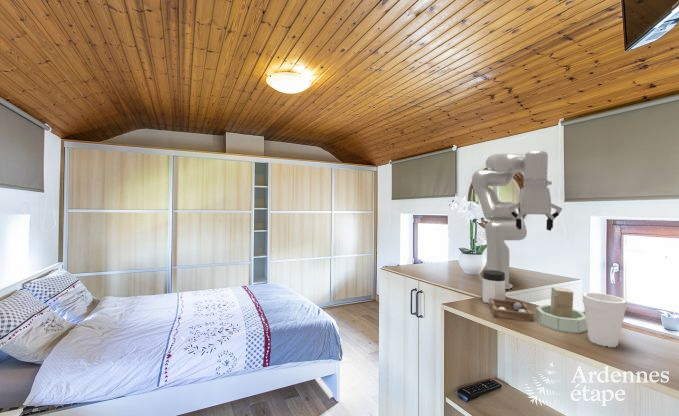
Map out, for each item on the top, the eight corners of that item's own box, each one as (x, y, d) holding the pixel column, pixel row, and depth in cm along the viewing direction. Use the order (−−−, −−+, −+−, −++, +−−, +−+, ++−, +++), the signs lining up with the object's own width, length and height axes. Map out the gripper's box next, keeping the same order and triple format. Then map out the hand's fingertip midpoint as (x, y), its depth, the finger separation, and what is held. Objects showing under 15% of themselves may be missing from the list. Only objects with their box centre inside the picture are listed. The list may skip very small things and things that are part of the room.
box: (553, 323, 99) (554, 289, 99) (549, 318, 103) (550, 286, 103) (573, 325, 97) (573, 291, 97) (568, 320, 101) (569, 288, 101)
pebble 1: (498, 316, 106) (496, 313, 109) (508, 317, 106) (506, 314, 108) (497, 308, 107) (496, 305, 109) (507, 308, 106) (505, 305, 108)
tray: (489, 305, 118) (489, 298, 118) (524, 308, 114) (524, 302, 114) (494, 317, 106) (494, 310, 106) (533, 321, 102) (533, 314, 102)
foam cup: (629, 353, 81) (630, 305, 81) (585, 344, 86) (586, 299, 85) (619, 339, 89) (621, 295, 89) (580, 332, 94) (581, 290, 93)
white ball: (516, 315, 107) (516, 307, 107) (526, 316, 106) (526, 308, 106) (518, 318, 104) (518, 310, 104) (528, 319, 103) (528, 311, 103)
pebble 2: (512, 308, 114) (512, 300, 114) (521, 308, 113) (521, 301, 113) (514, 311, 112) (514, 304, 111) (523, 312, 111) (523, 304, 110)
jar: (509, 302, 121) (509, 272, 121) (500, 306, 116) (500, 275, 116) (486, 296, 128) (487, 268, 128) (477, 300, 123) (477, 271, 123)
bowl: (532, 314, 108) (533, 303, 108) (576, 319, 104) (576, 307, 104) (543, 328, 96) (543, 316, 96) (593, 335, 92) (593, 322, 92)
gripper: (558, 184, 114) (557, 229, 115) (507, 185, 120) (506, 227, 121) (566, 183, 107) (564, 231, 108) (510, 184, 113) (509, 229, 113)
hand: (533, 229), depth 114 cm, fingers open, 9 cm apart
